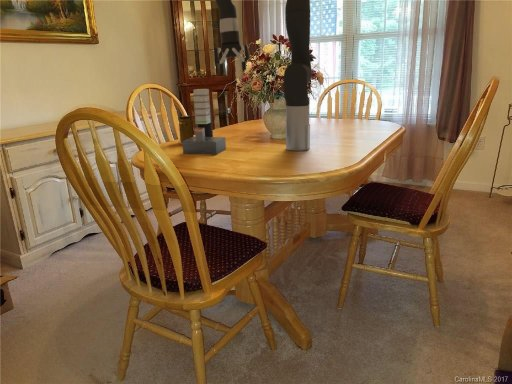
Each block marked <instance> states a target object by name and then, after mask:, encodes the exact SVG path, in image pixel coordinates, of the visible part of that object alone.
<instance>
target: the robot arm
mask: <svg viewBox="0 0 512 384" xmlns="http://www.w3.org/2000/svg"><path fill="white" fill-rule="evenodd" d="M215 2H216V5H217V8H218V15H219V32H220V40H221V42H220V43H221V47H215V48H214V50H213V51H214V52H213V53H214V62H215V63H216V64H218V65H219V68H220V72H221V74H224V75H225V74H226V70H225V64H224V63H225V62H226V60H227V58H228V59H229V58H231V59H232V58H237V57H238V59H240V61H241V69H242V73H244V72H246V70H247V65H246V63H247V61H249V60H251V59H250V56H251V55H250V52H249V51H250V50H249V45H248V44H243V45H242V44H241V42H240V41H241V40H240V28H239V22H238V16H237V15H238V14H237V6H236V4H235V3H234V2H232V0H215ZM284 8H285V11H284V14H285V29H286V35H287V39H288V42H289V45H290V64H288V65H287V66H286V67H285V70H284V73H283V95H284V96H283V97H284V100H285V149H286V150H287V151H296V152H297V151H299V152H300V151H301V152H302V151H309V149H310V148H311V124H310V103H311V102H310V97H309V95H308V84H309V83H310V82H311V79H312V76H313V73H312V72H313V71H312V63H311V54H310V53H311V52H310V42H311V40H310V39H311V0H286V3H285V7H284ZM241 50H243V51H244V54H245V55H244V56H245V57H244V56H243V55H242V54H241ZM221 52H222V53H223V55H222V57H221V58H220V53H221Z"/></svg>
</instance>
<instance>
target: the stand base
mask: <svg viewBox="0 0 512 384" xmlns="http://www.w3.org/2000/svg"><path fill="white" fill-rule="evenodd" d="M193 133H194V135H195V136H193V137H191V138H189V139H186V140H184V141H182V143H183V144H182V153H183V154H184V155H215V156H217V155H219V154H220V153H222V152H224V151H225V150H227V144H226V142H227V141H226V136H213V137H205V128H198V127H195V128H193Z"/></svg>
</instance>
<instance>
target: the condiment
mask: <svg viewBox="0 0 512 384" xmlns="http://www.w3.org/2000/svg"><path fill="white" fill-rule="evenodd" d="M178 121H179V123H178V128H179V129H178V131H179V140H180V141H179V144H180V145H183V143H182V141H184V140H186V139H189V138H191V137H194V128H193V126H194V125H193V121H192V115H181V116H179V120H178ZM181 143H182V144H181Z"/></svg>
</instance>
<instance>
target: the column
mask: <svg viewBox="0 0 512 384" xmlns="http://www.w3.org/2000/svg"><path fill="white" fill-rule="evenodd" d="M192 97H193V105H194V106H193V107H194V109H193V110H194V117H195V119H194V120H195V121H194V123H195V125H197V124H208V123H211V120H210V115H211V113H210V107H211V104H210V103H211V100H210V89H209V88H197V89H193V96H192Z"/></svg>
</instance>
